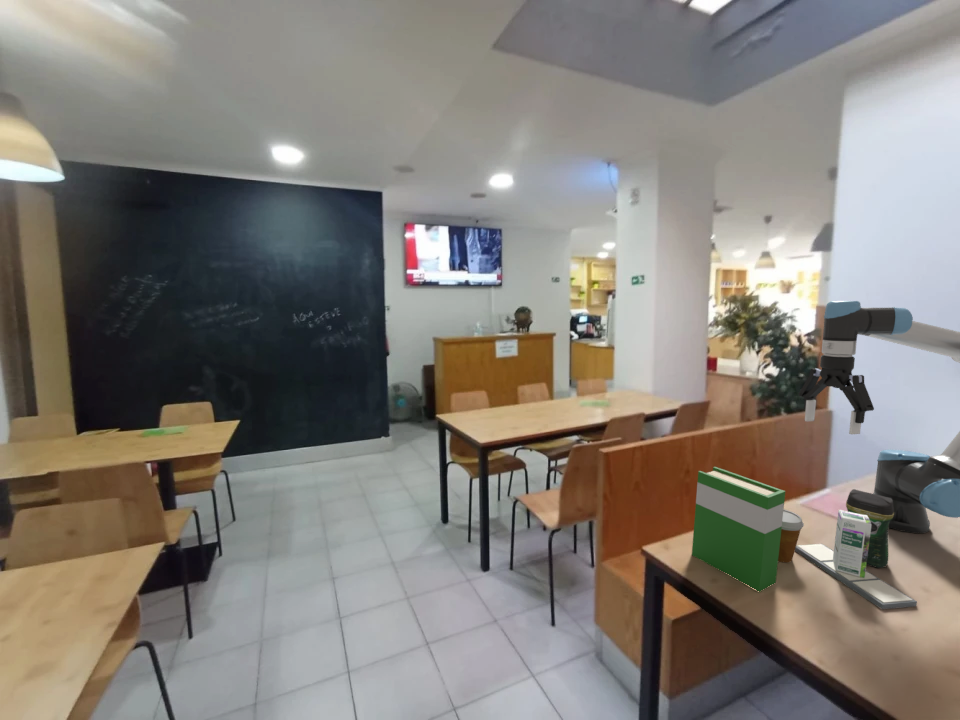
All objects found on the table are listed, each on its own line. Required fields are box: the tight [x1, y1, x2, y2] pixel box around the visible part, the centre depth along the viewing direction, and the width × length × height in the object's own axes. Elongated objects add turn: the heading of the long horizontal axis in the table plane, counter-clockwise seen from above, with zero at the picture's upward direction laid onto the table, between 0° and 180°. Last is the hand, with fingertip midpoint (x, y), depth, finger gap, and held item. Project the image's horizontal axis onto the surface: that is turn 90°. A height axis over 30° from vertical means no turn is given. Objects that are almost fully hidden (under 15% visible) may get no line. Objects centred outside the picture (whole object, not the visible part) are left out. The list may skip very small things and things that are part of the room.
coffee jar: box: [845, 488, 894, 569], centre depth 116 cm, size 10×8×19 cm
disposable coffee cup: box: [778, 508, 805, 563], centre depth 117 cm, size 10×10×12 cm
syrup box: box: [833, 509, 871, 578], centre depth 109 cm, size 6×6×14 cm
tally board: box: [794, 543, 918, 610], centre depth 110 cm, size 9×24×1 cm, turn 7°
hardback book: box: [691, 466, 786, 593], centre depth 111 cm, size 18×7×24 cm, turn 29°
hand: (830, 427), depth 126 cm, fingers open, 13 cm apart
